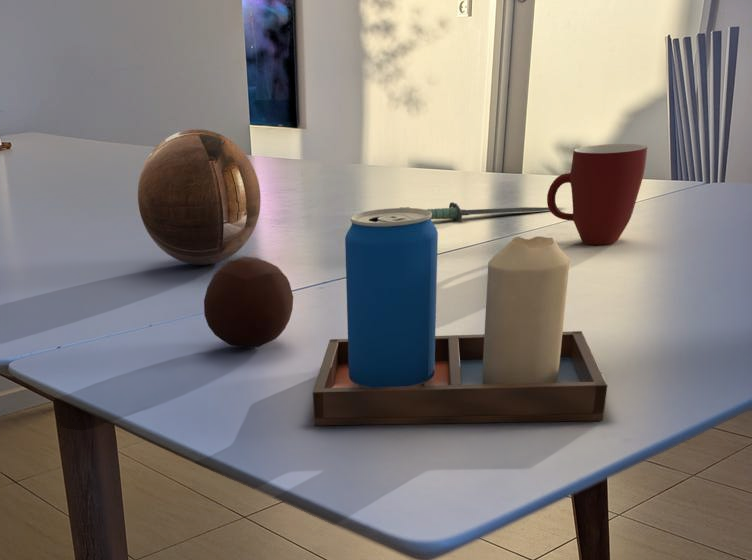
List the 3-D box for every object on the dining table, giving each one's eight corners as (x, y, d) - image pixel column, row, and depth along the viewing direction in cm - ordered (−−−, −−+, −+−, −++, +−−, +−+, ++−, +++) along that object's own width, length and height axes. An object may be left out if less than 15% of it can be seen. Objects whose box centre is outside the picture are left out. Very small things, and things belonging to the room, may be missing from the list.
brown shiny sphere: (137, 261, 121) (119, 132, 113) (246, 246, 124) (235, 119, 116) (161, 283, 109) (141, 141, 100) (280, 266, 112) (271, 126, 104)
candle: (509, 398, 66) (519, 250, 60) (467, 378, 70) (474, 238, 65) (573, 384, 67) (589, 238, 62) (528, 365, 72) (539, 227, 66)
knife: (404, 211, 125) (394, 201, 129) (402, 227, 127) (393, 217, 130) (566, 203, 128) (552, 194, 132) (563, 219, 129) (549, 210, 133)
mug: (542, 250, 109) (550, 156, 103) (544, 236, 115) (551, 147, 109) (636, 248, 106) (650, 151, 100) (633, 234, 112) (645, 142, 107)
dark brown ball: (257, 327, 89) (251, 243, 85) (317, 345, 83) (313, 255, 79) (188, 346, 85) (177, 259, 81) (244, 366, 79) (236, 273, 75)
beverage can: (401, 366, 74) (402, 203, 67) (451, 386, 69) (457, 213, 62) (333, 383, 71) (327, 217, 65) (379, 405, 67) (378, 227, 60)
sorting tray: (578, 362, 73) (581, 330, 72) (602, 420, 63) (607, 385, 61) (330, 369, 77) (329, 339, 75) (314, 425, 66) (312, 391, 65)
